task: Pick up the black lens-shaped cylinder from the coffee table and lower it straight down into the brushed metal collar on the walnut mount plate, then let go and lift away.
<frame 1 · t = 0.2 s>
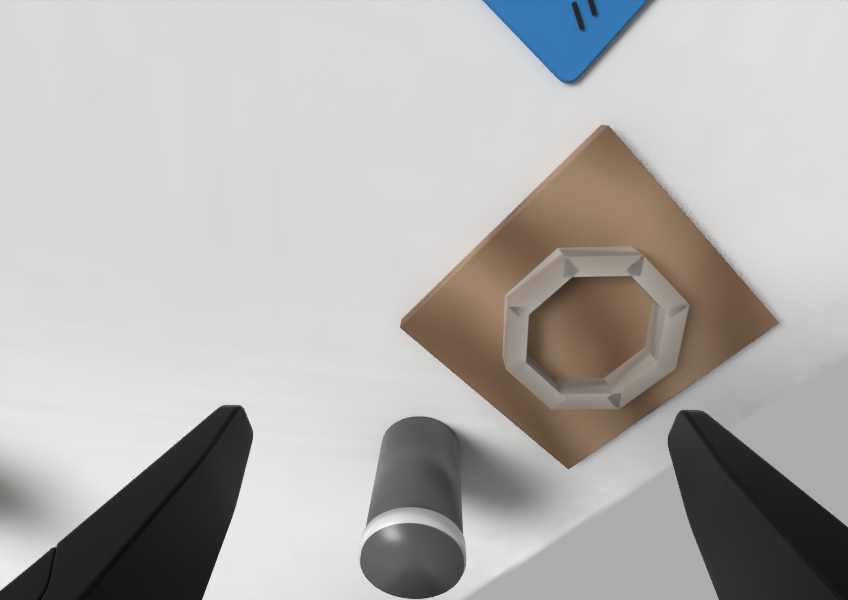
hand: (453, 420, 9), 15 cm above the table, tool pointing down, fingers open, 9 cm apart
lens cylinder: (420, 448, 29), on the table
collar holder: (580, 317, 25), on the table
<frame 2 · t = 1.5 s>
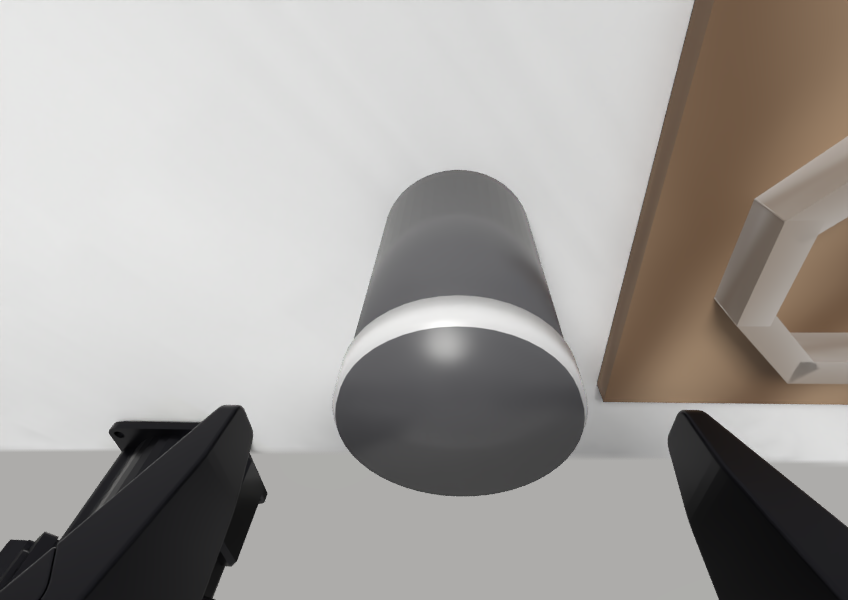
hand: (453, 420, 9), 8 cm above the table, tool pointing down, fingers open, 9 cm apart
lens cylinder: (456, 240, 16), on the table
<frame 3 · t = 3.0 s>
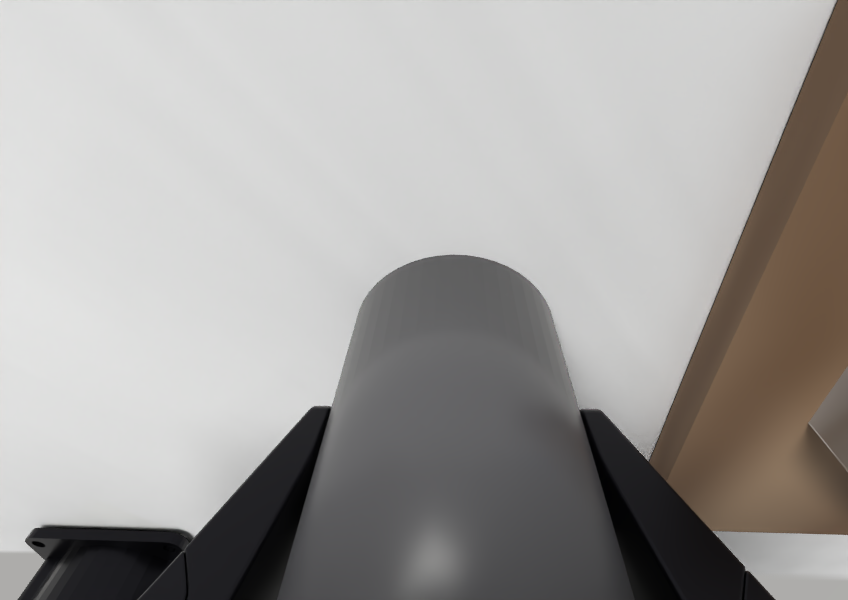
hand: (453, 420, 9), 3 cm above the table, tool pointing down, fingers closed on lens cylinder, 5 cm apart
lens cylinder: (453, 340, 11), on the table, touching gripper
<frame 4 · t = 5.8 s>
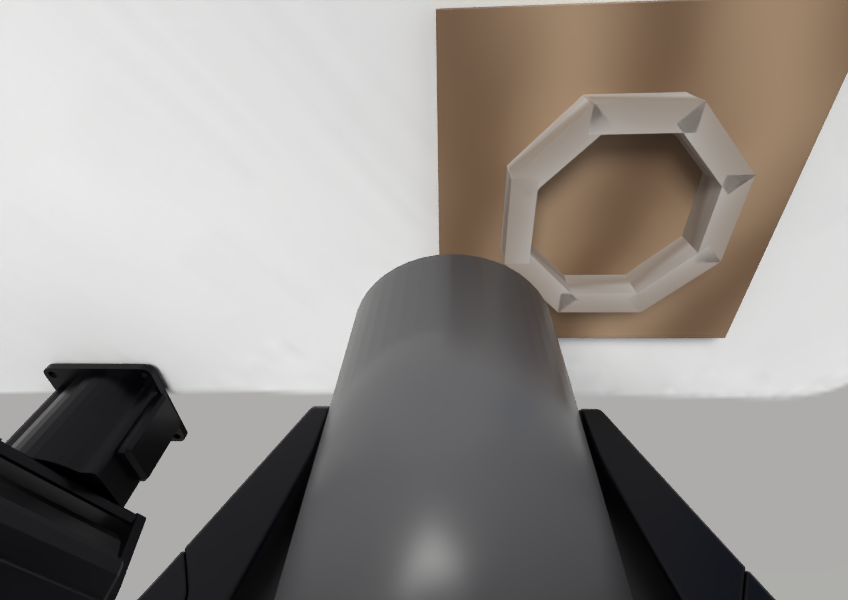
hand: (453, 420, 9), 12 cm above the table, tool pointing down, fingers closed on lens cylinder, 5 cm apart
lens cylinder: (452, 339, 11), point 10 cm above the table, touching gripper
collar holder: (602, 197, 19), on the table
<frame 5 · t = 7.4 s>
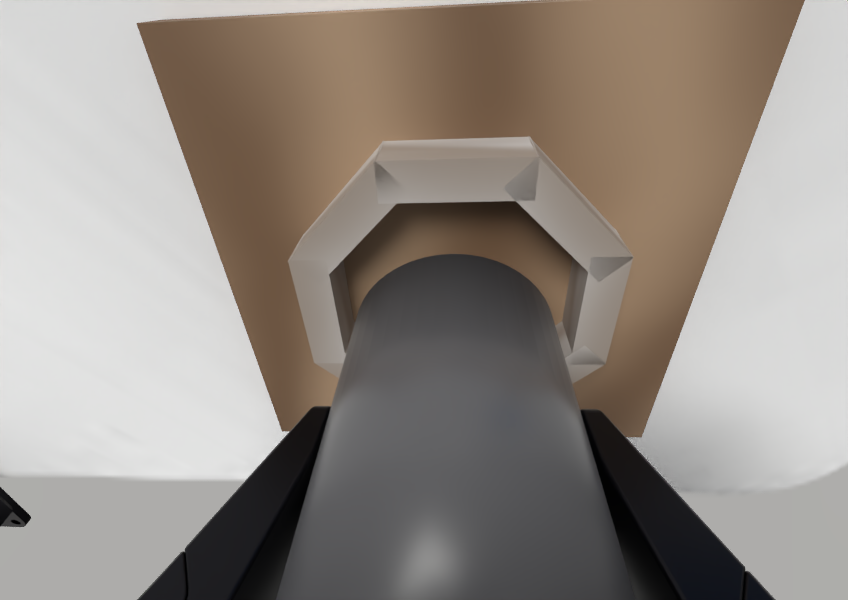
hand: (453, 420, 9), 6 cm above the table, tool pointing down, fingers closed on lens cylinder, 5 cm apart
lens cylinder: (453, 339, 11), point 4 cm above the table, touching gripper
collar holder: (455, 267, 14), on the table
when the fingers open (4 cm above the table, at t = 8.8 s): lens cylinder stays where it is, resting on collar holder.
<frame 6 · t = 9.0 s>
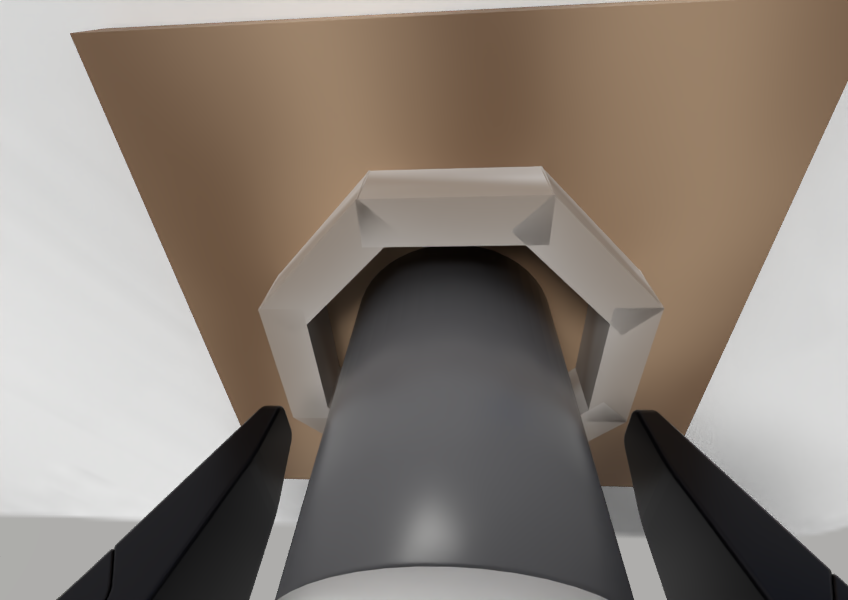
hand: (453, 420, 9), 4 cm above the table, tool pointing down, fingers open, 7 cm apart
lens cylinder: (453, 328, 12), point 1 cm above the table, touching collar holder
collar holder: (454, 306, 13), on the table
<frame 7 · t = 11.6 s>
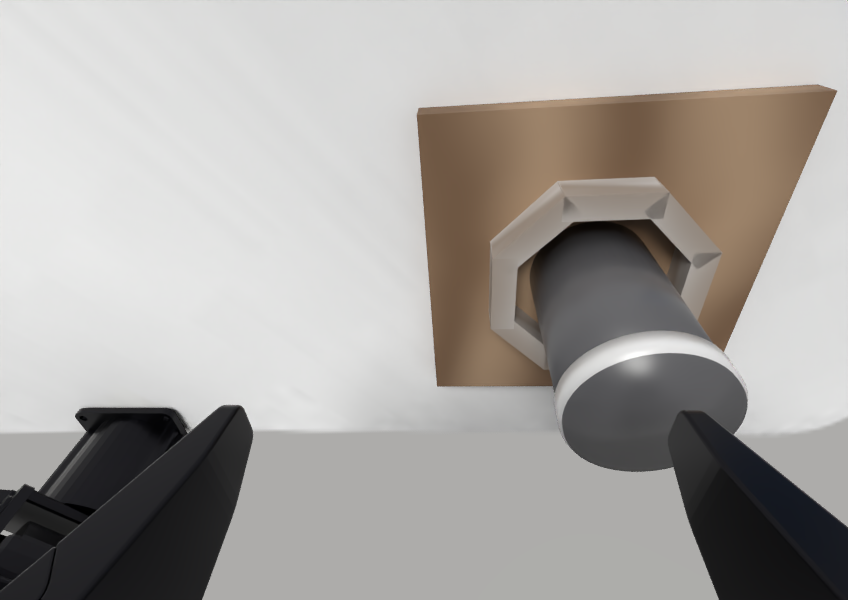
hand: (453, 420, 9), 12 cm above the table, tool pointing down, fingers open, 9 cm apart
lens cylinder: (587, 273, 19), point 1 cm above the table, touching collar holder
collar holder: (583, 262, 20), on the table
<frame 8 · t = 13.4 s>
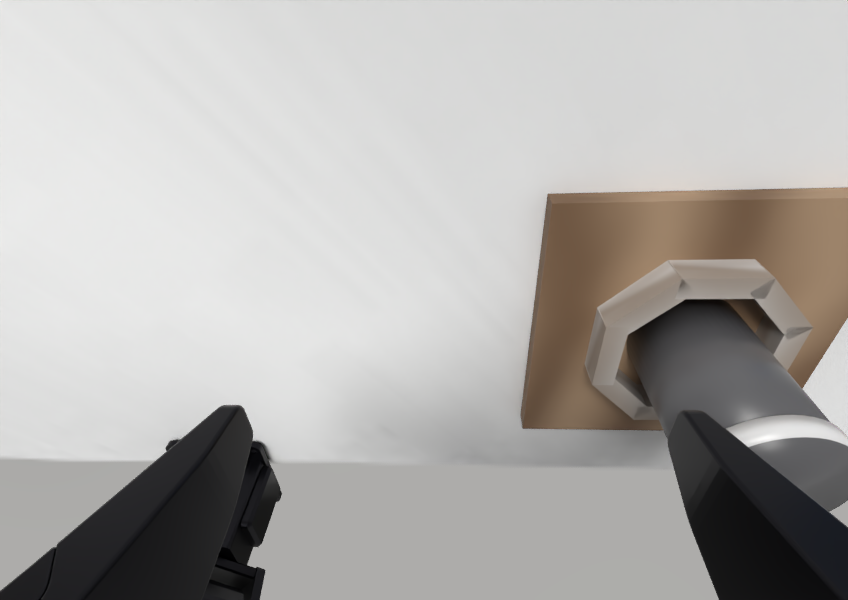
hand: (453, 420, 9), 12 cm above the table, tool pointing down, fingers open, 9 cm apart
lens cylinder: (681, 336, 22), point 1 cm above the table, touching collar holder
collar holder: (673, 323, 22), on the table
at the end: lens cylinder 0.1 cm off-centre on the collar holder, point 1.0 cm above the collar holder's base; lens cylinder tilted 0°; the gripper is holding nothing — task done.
